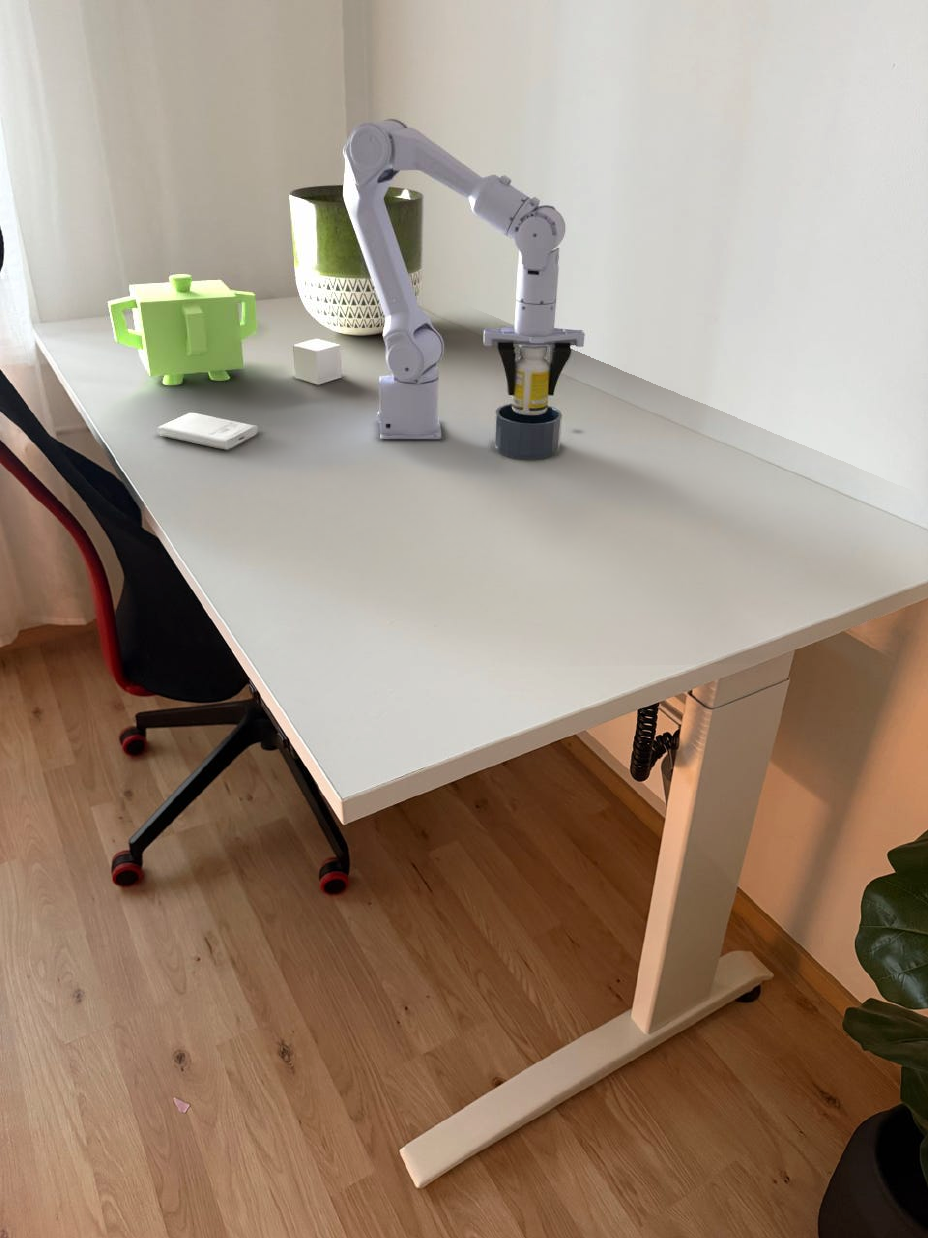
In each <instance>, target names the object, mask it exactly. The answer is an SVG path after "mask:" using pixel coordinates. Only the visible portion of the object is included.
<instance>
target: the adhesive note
mask: <svg viewBox="0 0 928 1238" xmlns="http://www.w3.org/2000/svg"><path fill="white" fill-rule="evenodd" d="M292 353H293V366H294V367H293V368H294V378H295V379H298V380H301V381H304V382H308V383H311V384H315V385H321V384H325V383H328V382H331V381H334V380H338V379H341V378H342V357H341V355H342V354H341V344H339V343H335V342H332V341H328V340H324V339H320V338H314V339H309V340H306V341H304V342H298V343H295V344H292Z"/></svg>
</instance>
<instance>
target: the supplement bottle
mask: <svg viewBox="0 0 928 1238" xmlns="http://www.w3.org/2000/svg"><path fill="white" fill-rule="evenodd" d="M518 349H519V351H518V354H519V356H520V357H519V358H517V359H515V368H514V395H511V403H512V409H513V411H514V412H516V413H519V414H523V415H540V414H543V413H545V412H546V411H547V407H548V406H549V395H548V393H549V378H550V360H548V359H546V357H547V353H548V350H547V349H548V345H519V348H518Z"/></svg>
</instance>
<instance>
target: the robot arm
mask: <svg viewBox="0 0 928 1238" xmlns="http://www.w3.org/2000/svg"><path fill="white" fill-rule="evenodd" d="M342 153H343V157H344V159H345V164H344V165H345V166H344V179H343V185H344V190H343V196H344V201H345V204H346V207H347V209H348V212H349V215H350V218H351V221H352V224H353V227H354V230H355V232H356V235H357V238H358V241H359V244H360V247H361V250H362V252H363V255H364V258H365V261H366V264H367V267H368V270H369V273H370V275H371V278H372V281H373V284H374V287H375V290H376V293H377V296H378V298H379V301H380V304H381V307H382V310H383V313H384V316H385V319H386V321H385V327H384V332H383V333H382V338H383V341H384V345H385V357H384V359H385V364H386V367H387V369H388V371H389V372H390V374H389V375H380V376H379V411H377V423H378V424H379V428H380V429H379V432H380V436H379V437H380V438H379V439H381V440H441V439H442V431H441V424H440V420H439V375H440V374H439V370H438V363H439V362H440V361H441V359H442V358H443V356H444V352H445V342H444V339H443V337H442V335H441V334H440V332H438V330H436V329H435V327H434V326H433V324H432V322H431V319H430V315H428V314H427V313H426V311H424V310H423V309H422V308H421V307H420V305H419V302H418V300H417V299H416V296H415V293H414V290H413V287H412V284H411V281H410V278H409V275H408V272H407V269H406V266H405V263H404V260H403V257H402V254H401V251H400V248H399V245H398V242H397V239H396V236H395V233H394V230H393V227H392V224H391V221H390V218H389V215H388V212H387V209H386V206H385V203H384V196H385V194H386V192H387V190H388V188H389V187H391V186H390V185H391V184H392V182H393V180H394V178H395V177H396V176H397V175H398V173H400V172H401V171H420V172H422V173H423V174H425V175H427V176H429V177H430V178H432V179H433V180H436V181H438V182H439V183H440V184H442V185H444V186H445V187H447V188H449V189H451V190H452V191H454V192H456V193H457V194H459V195H461V196H462V197H464V198H466V199H467V200H468V202H469V204H470V207H471V212H472V214H473V215H474V216H476V217H478V218H479V219H480V220H482V221H484V222H485V223H486V224H487V225H490V226H491V227H493V228H494V229H496V230H498V231H499V232H500V233H502V234H503V235H504V236H506V237H508V238H509V239H514V244H515V246H516V248H517V249H518V251H519V252H518V253H519V255H518V265H517V279H516V295H515V296H516V297H515V314H514V326H513V327H512V326H511V327H500V328H485V329H483V334H482V335H483V339H482V342H483V346H484V347H492V346H494V345H495V346H496V349H497V352H498V354H499V356H500V360H501V363H502V366H503V369H504V374H505V379H506V387H507V389H506V390H507V391H506V392H507V395H508V396H512V395H514V368H515V361H516V360H517V359H516V358H517V353H516V347H515V346H520V345H547V346H549V363H550V378H549V393H548V397H550V396H551V397H552V396H554V395H555V389H556V387H557V385H558V381H559V378H560V375H561V373H562V371H563V369H564V368H565V366H566V364H567V363H568V361H569V360H570V358H571V355H572V351H573V350H572V348H571V346H575V347H578V348H583V347H584V345H585V332H584V331H583V329H569V328H568V329H567V328H559V327H555V321H556V308H557V298H558V297H557V295H558V285H559V284H558V281H559V272H560V267H559V261H560V247H558V246H559V245H560V244H561V243H562V242H563V240H564V237H565V235H566V222H565V219H564V217H563V216H562V214H561V213H560V212H559V210H557V208H556V207H554V206H553V205H549V204H542V205H540V204H541V199H539V198H538V197H536V196H533V197H529V196H528V195H526V194H525V193H524V192H522V191H520V190H519V189H517V188H516V187H515V186H513V185H512V184H511V183H512V179H511V178H510V177H508V176H507V175H506V174H505V175H501V176H500V177H499V176H498V175H496V174H490V175H488V176H485V177H482V176H480V175H479V174H478V173H476V172H475V171H473V169H471V168H470V167H468V166H467V165H465V164H464V163H463V162H461V161H460V160H459V159H458V158H456V157H455V156H453V155H452V154H451V153H449V152H448V151H446V150H445V149H443V148H442V146H440V145H439V144H437V143H435V142H434V141H433V140H432V139H430V138H429V137H427V136H426V135H425V134H423V132H421V131H420V130H418V129H416V128H414V127H409V126H408V125H407V124H406V123H405V122H403V121H402V120H399V119H397V118H388V119H385V120H382V121H376V122H371V121H366V122H362V123H360V124H358V125H357V126H356V127H354V129H353V130H352V132H351V133H350V135H349V136H348V139H347V141H346V143H345V145H344V147H343V149H342Z"/></svg>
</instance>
